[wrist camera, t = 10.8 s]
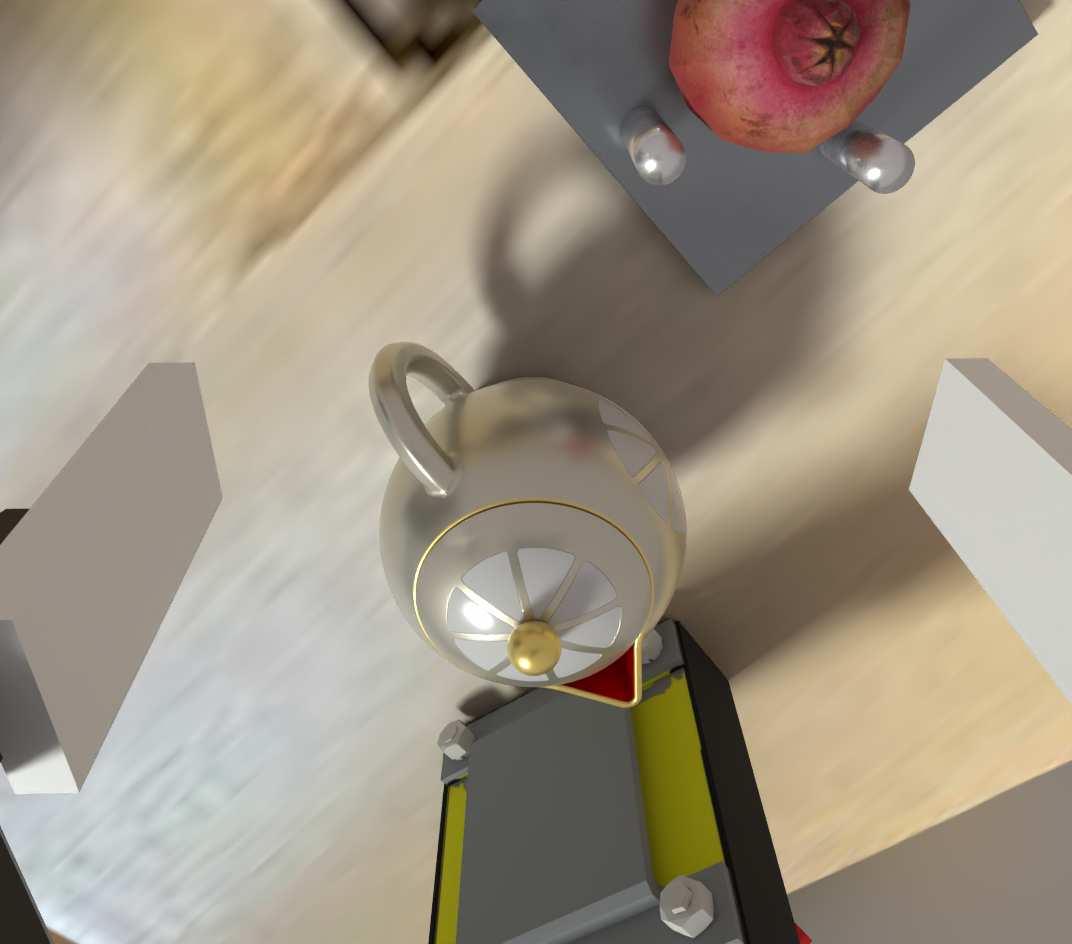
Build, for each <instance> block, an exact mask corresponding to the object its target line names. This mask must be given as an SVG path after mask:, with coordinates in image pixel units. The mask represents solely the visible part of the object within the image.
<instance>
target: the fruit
mask: <svg viewBox="0 0 1072 944" xmlns="http://www.w3.org/2000/svg"><path fill="white" fill-rule="evenodd" d="M910 6H911V5H910V2H909V0H678V2H677V5H676V7H675V13H674V21H673V30H672V38H671V46H670V55H669V66H670V69H671V71H672V73H673V76H674V78H675V80H676V82H677V85H678V87H679V89H680V91H681V94H682V96H683V98H684V100H685V103H686V105H687V107H688V108H689V110H690V111H691V112H692V113H693V114H694V115H695V116H697V117H698V118H699V119H700V120H701V121H702V122H703V123H704V124H705V125H706V126H707V127H708V128H709V129H710V130H711V131H712V132H713V133H714V134H715V135H716V136H717V137H719V138H720V139H721V140H722V141H726V142H729V143H733V144H736V145H739V146H743V147H746V148H750V149H753V150H756V151H761V152H767V153H807V152H809V151H810V150H812V149H813V148H815V147H817V146H818V145H820V144H821V143H823V142H824V141H826V140H828V139H829V138H831V137H832V136H834V135H836V134H837V133H839V132H840V131H842V130H844V129H845V128H847V127H848V126H849V125H850V124H851V123H852V122H853V121H854V120H855V119H856V118H857V117H858V116H859V115H860V114H861V113H862V112H863V111H864V110H865V109H866V108H867V106H868V105H869V104H870V103H871V102H872V101H873V100H874V99H875V98H876V96H877V95H878V94H879V92H880V91H881V89H882V88H883V87H884V85H885V84H886V82H887V81H888V80H889V78H890V77H891V75H892V74H893V73H894V71H895V70H896V68H897V67H898V65H899V64H900V63H901V61H902V57H903V51H904V45H905V38H906V32H907V26H908V19H909V13H910Z"/></svg>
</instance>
